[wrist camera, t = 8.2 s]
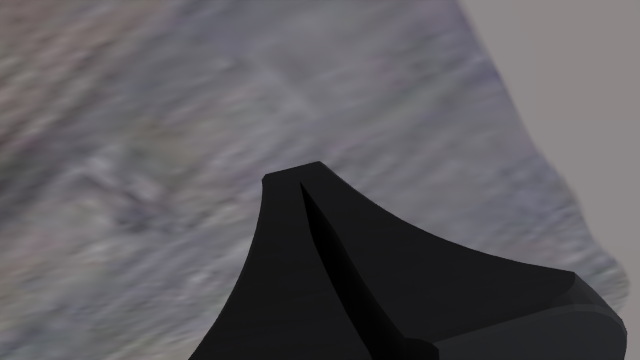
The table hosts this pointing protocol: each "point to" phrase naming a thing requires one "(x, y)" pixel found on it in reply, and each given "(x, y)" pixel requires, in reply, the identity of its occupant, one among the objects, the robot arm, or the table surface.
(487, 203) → the table surface
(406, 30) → the table surface
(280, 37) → the table surface
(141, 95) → the table surface
